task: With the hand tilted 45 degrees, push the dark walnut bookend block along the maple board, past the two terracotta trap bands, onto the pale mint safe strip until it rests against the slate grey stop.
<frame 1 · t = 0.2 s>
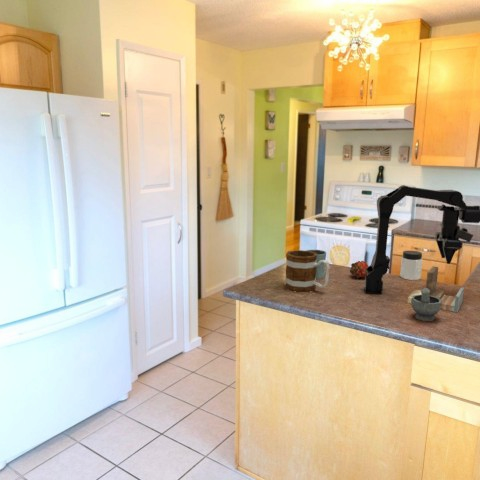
hand: (445, 260, 173), 14 cm above the counter, tool pointing down, fingers open, 9 cm apart
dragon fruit: (359, 277, 201), on the counter
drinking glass: (314, 277, 200), on the counter
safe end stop: (458, 307, 162), on the counter
bookend block: (434, 297, 166), point 2 cm above the counter, touching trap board
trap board: (433, 302, 167), on the counter
jar: (410, 278, 200), on the counter
mortar and pestle: (424, 319, 151), on the counter
mug: (306, 289, 182), on the counter
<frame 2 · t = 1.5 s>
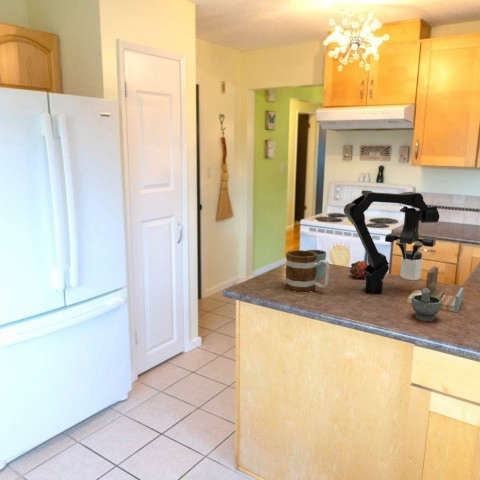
hand: (408, 260, 179), 13 cm above the counter, tool pointing down, fingers open, 3 cm apart
nothing on the counter moved.
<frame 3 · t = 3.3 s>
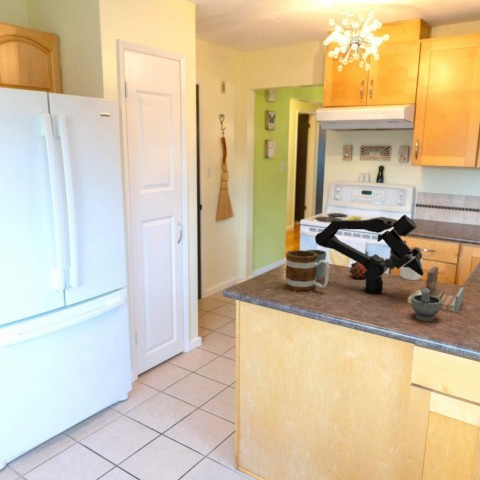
hand: (422, 275, 167), 10 cm above the counter, tool tilted 45°, fingers closed
nothing on the counter moved.
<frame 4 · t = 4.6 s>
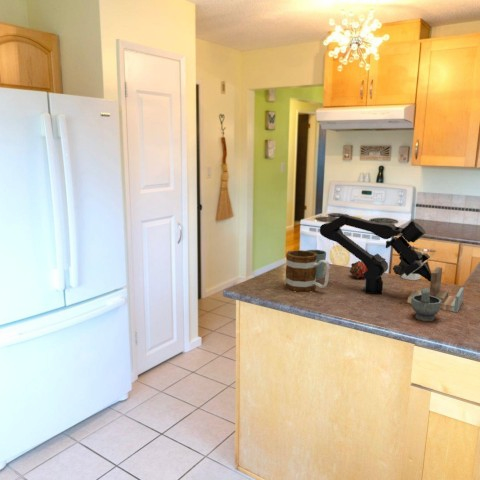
hand: (432, 281, 166), 8 cm above the counter, tool tilted 45°, fingers closed
bookend block: (438, 298, 165), point 2 cm above the counter
everything else where it was.
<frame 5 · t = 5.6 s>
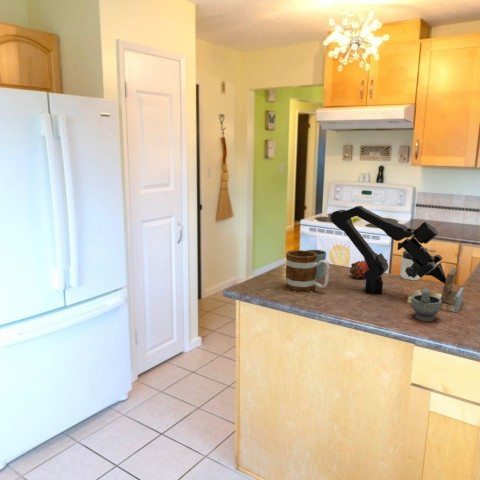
hand: (445, 282, 163), 9 cm above the counter, tool tilted 45°, fingers closed, pressing on bookend block
bookend block: (449, 299, 163), point 2 cm above the counter, tilted 8°, touching gripper, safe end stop, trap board
everything else where it was.
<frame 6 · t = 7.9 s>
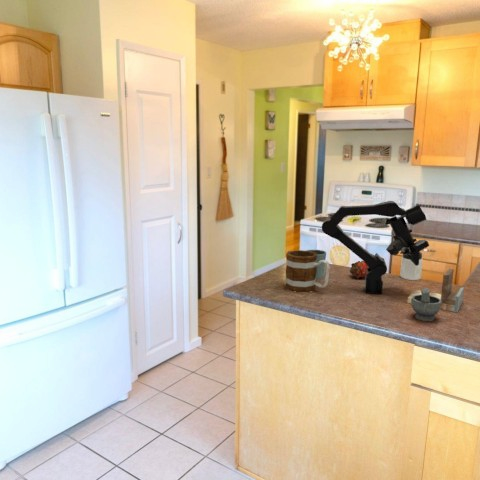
hand: (417, 265, 173), 12 cm above the counter, tool tilted 25°, fingers closed
bookend block: (450, 300, 163), point 2 cm above the counter, touching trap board
everything else where it was.
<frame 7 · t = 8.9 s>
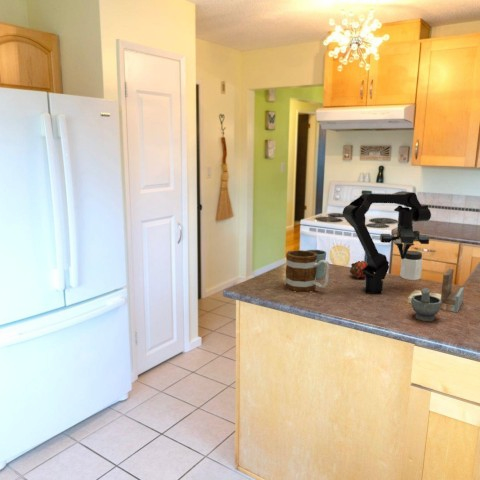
hand: (402, 258, 181), 13 cm above the counter, tool pointing down, fingers closed
nothing on the counter moved.
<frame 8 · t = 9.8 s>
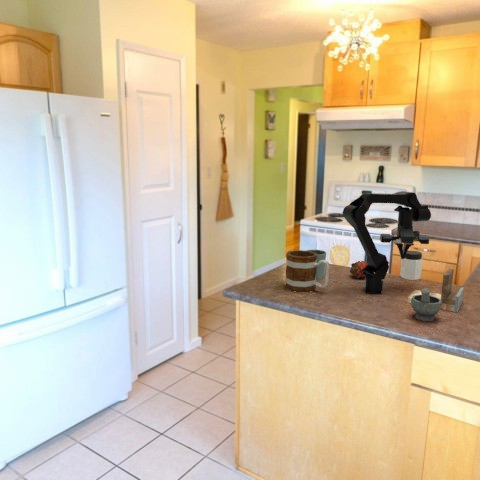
hand: (402, 258, 181), 13 cm above the counter, tool pointing down, fingers closed
nothing on the counter moved.
at the end: bookend block 3.0 cm from the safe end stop (horizontally); bookend block tilted 0°; bookend block moved 5.5 cm from its start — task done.
